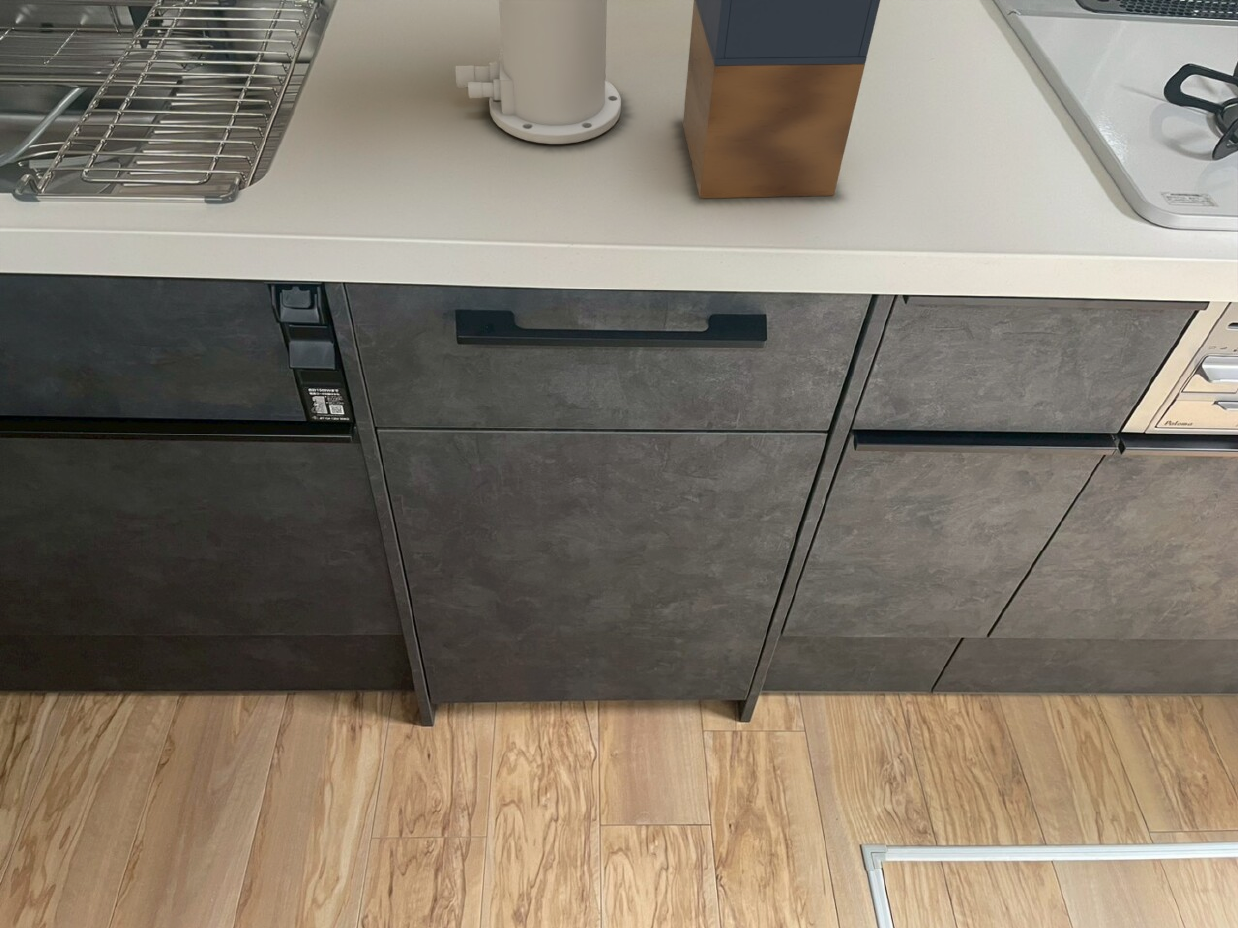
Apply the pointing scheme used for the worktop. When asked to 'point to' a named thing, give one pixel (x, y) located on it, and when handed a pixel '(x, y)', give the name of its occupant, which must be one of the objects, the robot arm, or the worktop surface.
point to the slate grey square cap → (788, 31)
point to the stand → (766, 124)
